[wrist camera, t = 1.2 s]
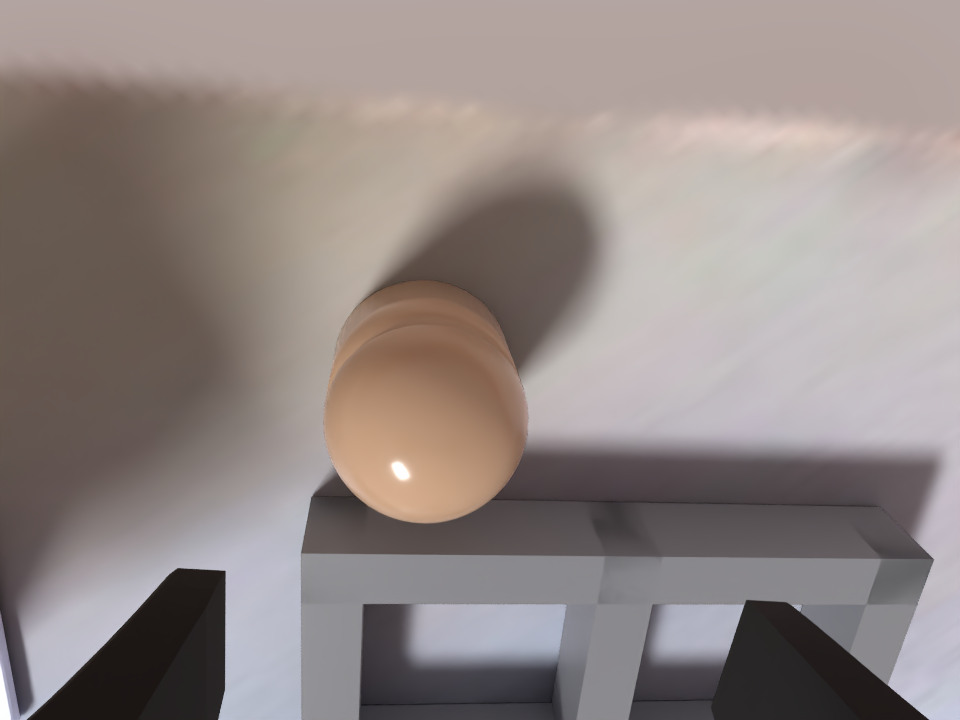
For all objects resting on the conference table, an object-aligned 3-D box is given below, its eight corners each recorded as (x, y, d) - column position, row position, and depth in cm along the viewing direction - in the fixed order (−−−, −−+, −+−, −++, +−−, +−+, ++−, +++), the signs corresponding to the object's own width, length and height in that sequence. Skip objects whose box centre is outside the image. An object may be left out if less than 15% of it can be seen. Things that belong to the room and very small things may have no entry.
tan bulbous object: (333, 437, 20) (313, 566, 15) (335, 275, 19) (314, 361, 14) (499, 441, 21) (531, 567, 16) (516, 284, 19) (558, 371, 14)
